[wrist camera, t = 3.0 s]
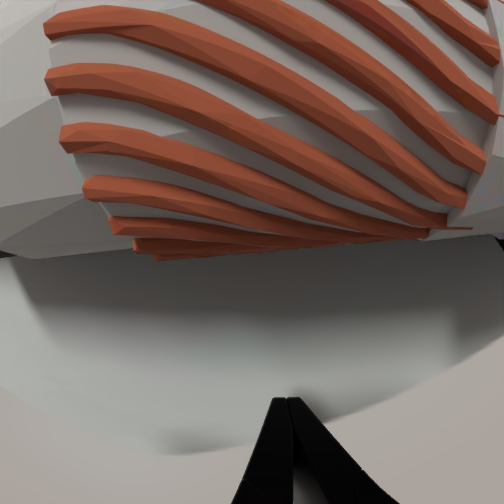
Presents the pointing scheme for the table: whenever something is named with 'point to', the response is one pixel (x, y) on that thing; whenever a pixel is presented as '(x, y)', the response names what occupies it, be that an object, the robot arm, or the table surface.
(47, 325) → the table surface
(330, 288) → the table surface
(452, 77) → the cable
